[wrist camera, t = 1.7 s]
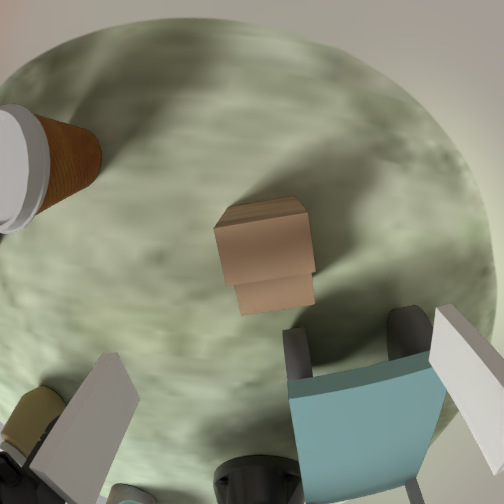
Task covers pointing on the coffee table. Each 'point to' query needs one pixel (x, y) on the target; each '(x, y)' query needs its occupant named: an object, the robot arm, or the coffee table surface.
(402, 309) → the trolley
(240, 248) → the block
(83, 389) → the robot arm
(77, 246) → the coffee table surface
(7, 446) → the squeeze bottle
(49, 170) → the disposable coffee cup
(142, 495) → the pillar candle
